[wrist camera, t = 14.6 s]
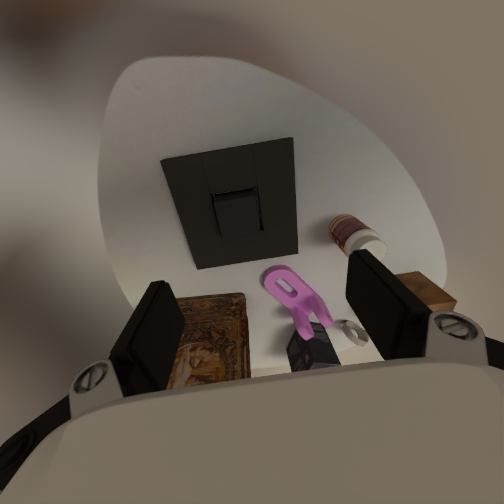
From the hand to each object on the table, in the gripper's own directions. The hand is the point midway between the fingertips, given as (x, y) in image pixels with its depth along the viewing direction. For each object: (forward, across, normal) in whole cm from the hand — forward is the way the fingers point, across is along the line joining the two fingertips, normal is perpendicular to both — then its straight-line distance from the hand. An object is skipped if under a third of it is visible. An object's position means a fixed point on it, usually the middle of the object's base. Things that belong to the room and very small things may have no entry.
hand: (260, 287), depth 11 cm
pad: (+22, +2, +3) cm, 22 cm away
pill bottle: (+22, -14, +9) cm, 28 cm away
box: (+22, -7, +34) cm, 41 cm away
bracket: (+22, -5, +20) cm, 30 cm away
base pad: (+22, +2, +3) cm, 22 cm away
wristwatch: (+22, -17, +32) cm, 42 cm away
